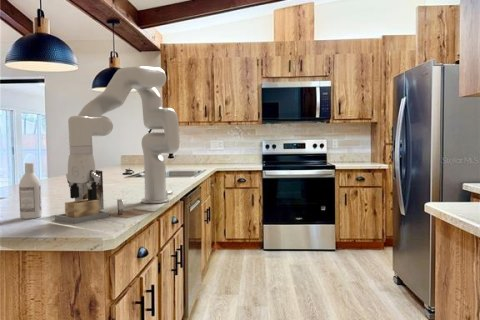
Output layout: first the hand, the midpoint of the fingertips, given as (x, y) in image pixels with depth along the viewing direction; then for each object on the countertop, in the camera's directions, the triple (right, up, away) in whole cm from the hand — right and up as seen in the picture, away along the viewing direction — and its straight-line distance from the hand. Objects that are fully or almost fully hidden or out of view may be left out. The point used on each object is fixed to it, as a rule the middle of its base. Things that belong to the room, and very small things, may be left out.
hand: (83, 198), depth 136 cm
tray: (0, -7, 0) cm, 7 cm away
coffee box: (-4, -7, +16) cm, 18 cm away
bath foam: (-21, -7, +4) cm, 23 cm away
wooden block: (0, -7, 0) cm, 7 cm away
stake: (+11, -7, +5) cm, 14 cm away
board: (+14, -7, +8) cm, 18 cm away
